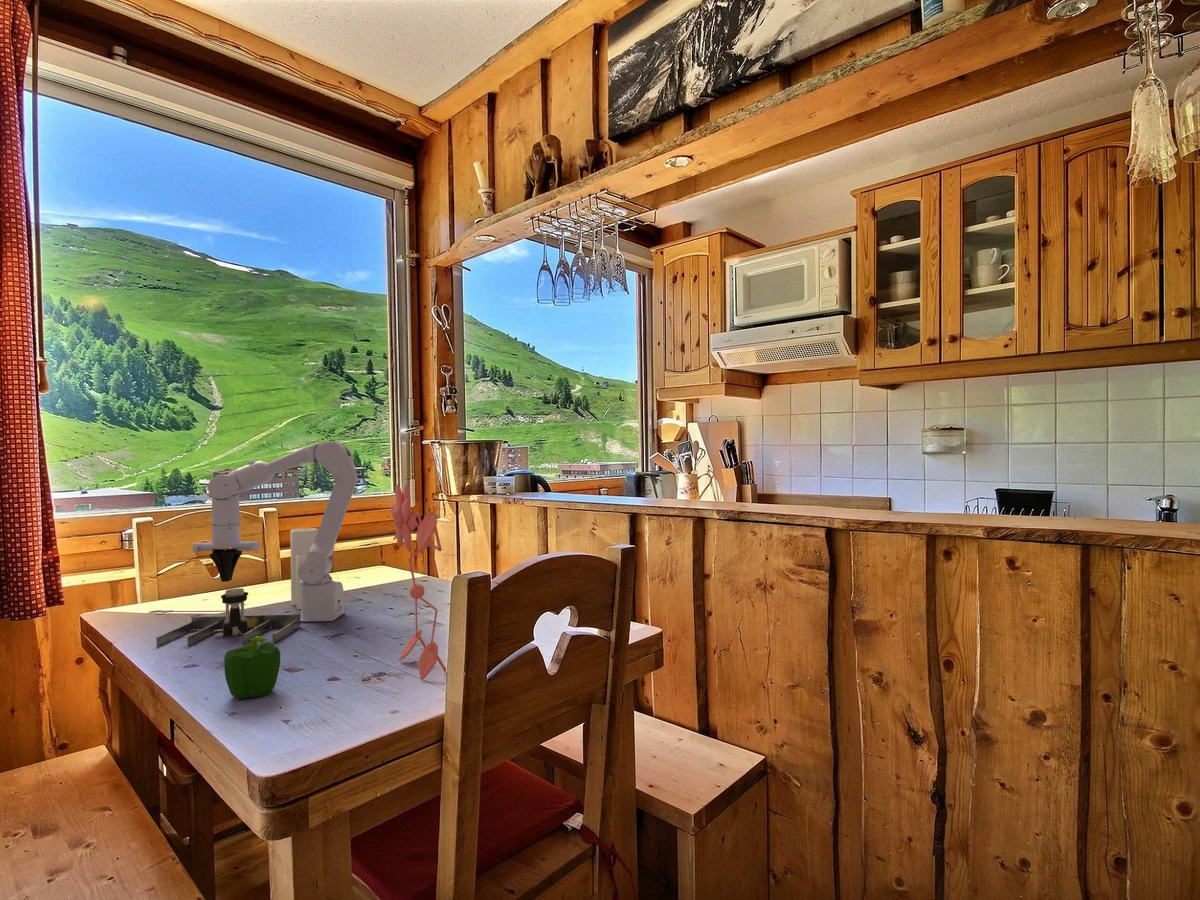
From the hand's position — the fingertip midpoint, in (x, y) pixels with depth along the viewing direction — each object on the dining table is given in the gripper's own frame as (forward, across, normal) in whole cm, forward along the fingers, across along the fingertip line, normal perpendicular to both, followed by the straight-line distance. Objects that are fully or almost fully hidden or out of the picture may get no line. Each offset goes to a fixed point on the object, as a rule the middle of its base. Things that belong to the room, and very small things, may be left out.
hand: (226, 580), depth 146 cm
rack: (+10, +6, -10) cm, 16 cm away
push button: (+11, +6, -9) cm, 15 cm away
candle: (+11, +12, +18) cm, 24 cm away
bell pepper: (+11, +28, -44) cm, 54 cm away
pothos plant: (+11, +51, -37) cm, 64 cm away
